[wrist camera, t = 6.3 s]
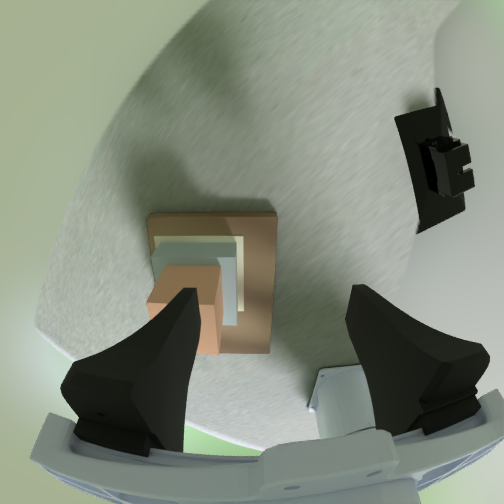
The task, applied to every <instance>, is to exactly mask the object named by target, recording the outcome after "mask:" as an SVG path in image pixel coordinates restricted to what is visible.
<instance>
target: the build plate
mask: <svg viewBox="0 0 504 504" xmlns="http://www.w3.org/2000/svg"><path fill="white" fill-rule="evenodd" d="M434 95H435V98H434V100H435V106H433V107H429V108H425V109H421V110H417V111H414V112H410V113H406V114H402V115H399V116H395V118H394V120H395V123H396V126H397V129H398V132H399V135H400V138H401V142H402V145H403V149H404V152H405V156H406V159H407V163H408V167H409V171H410V175H411V180H412V184H413V188H414V193H415V198H416V203H417V208H418V214H419V222H418V225H417V230H416V234H419V233H421V232H423V231H425V230H427V229H429V228H431V227H433V226H435V225H437V224H439V223H441V222H443V221H445V220H447V219H449V218H451V217H453V216H455V215H457V214H459V213H461V212H463V211H465V209H466V207H465V198H464V192H465V191H467V190H469V189H471V188H473V187H475V184H474V177H473V170H472V169H470V168H468V169H466V170H464V171H463V166H464V165H467V164H469V163H471V157H470V152H469V147H468V144H465V143H461V142H460V139H457V138H453V137H452V136H449V133H448V130H449V131H450V132H452V134H453V131H452V127H451V123H450V120H449V116H448V112H447V109H446V106H445V102H444V99H443V96H442V93H441V90H440V88H438V87H436V88H434Z"/></svg>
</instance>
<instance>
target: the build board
mask: <svg viewBox="0 0 504 504" xmlns="http://www.w3.org/2000/svg"><path fill="white" fill-rule="evenodd" d="M277 219H278V217H277V213H276V212H179V213H151V214H150V215H149V216H148V217H147V218H146V222H147V229H148V237H149V244H150V250H151V256H152V254H153V253H154V251H155V250H156V248H157V247H158V245H159V244H160V242H237V284H238V315H237V325H222V332H221V341H220V350H219V353H237V354H268V353H270V340H271V326H272V311H273V295H274V278H275V260H276V241H277Z"/></svg>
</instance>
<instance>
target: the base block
mask: <svg viewBox="0 0 504 504" xmlns="http://www.w3.org/2000/svg"><path fill="white" fill-rule="evenodd" d="M151 261H152V267H153V273H154V278H155V284H156V282H157V280H158V279H159V277H160V275H161V273H162V271H163V269H164V267H165V265H167V266H221V272H222V290H223V306H224V315H223V324H222V325H237V315H238V284H237V242H160V244H159V245H158V247H157V248H156V250H155V251H154V253H153V254H152V256H151Z"/></svg>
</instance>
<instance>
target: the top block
mask: <svg viewBox="0 0 504 504" xmlns="http://www.w3.org/2000/svg"><path fill="white" fill-rule="evenodd" d="M184 287H185V288H197V294H198V302H199V309H200V316H201V331H200V339H199V344H198V348H197V352H196V354H215V355H219V350H220V341H221V332H222V324H223V315H224V306H223V290H222V272H221V266H167V265H165V267H164V269H163V271H162V273H161V275H160V277H159V279H158V280H157V282H156V284H155V286H154V288H153V290H152V292H151V294H150V296H149V298H148V300H147V302H146V304H147V308H148V312H149V316H150V320H151V319H152V318H154V317H155V316H156V315H157V314H158V313H159V312H160V311H161V310H162V309H163V308H164V307H165V306H166V305H167V304H168V303H169V302H170V301H171V300H172V299H173V298H174V297H175V296H176V295H177V294H178V293H179V292H180V291H181V290H182V289H183V288H184Z"/></svg>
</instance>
